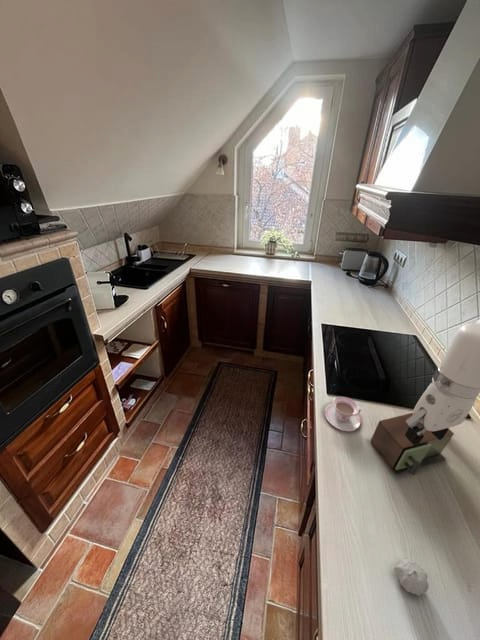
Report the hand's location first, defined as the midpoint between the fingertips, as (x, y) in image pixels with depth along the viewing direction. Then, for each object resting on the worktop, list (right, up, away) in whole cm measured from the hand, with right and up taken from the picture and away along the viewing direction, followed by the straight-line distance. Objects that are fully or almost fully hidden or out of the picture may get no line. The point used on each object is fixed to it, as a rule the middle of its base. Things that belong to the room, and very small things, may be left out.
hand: (423, 437), depth 60 cm
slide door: (+5, -15, +12) cm, 20 cm away
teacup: (-8, -6, +29) cm, 30 cm away
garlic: (-9, -27, -7) cm, 29 cm away
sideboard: (+8, -12, +19) cm, 24 cm away
